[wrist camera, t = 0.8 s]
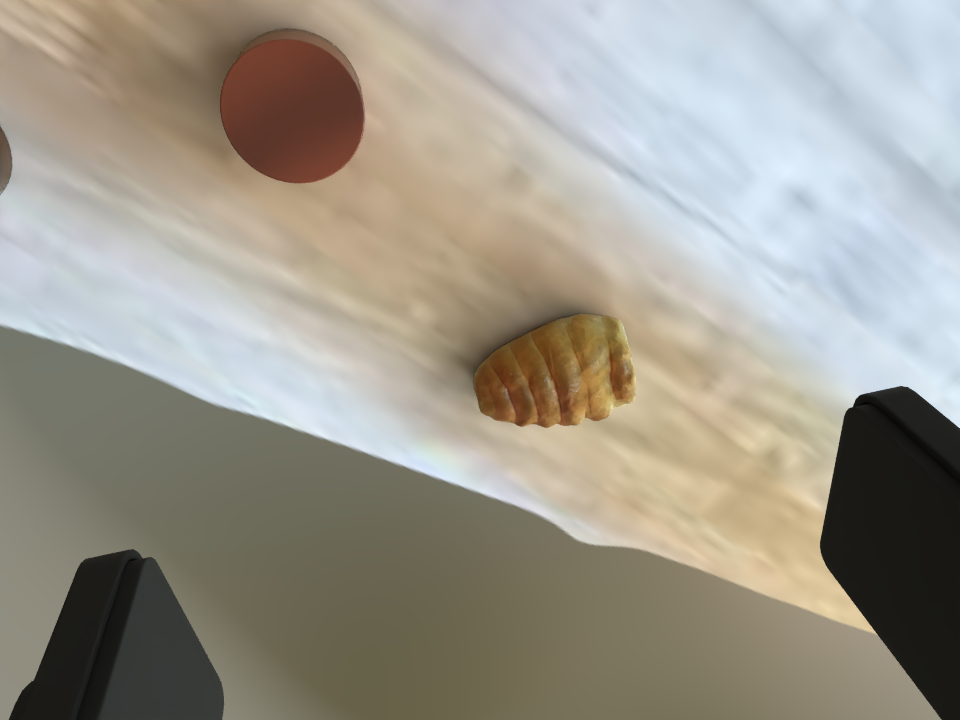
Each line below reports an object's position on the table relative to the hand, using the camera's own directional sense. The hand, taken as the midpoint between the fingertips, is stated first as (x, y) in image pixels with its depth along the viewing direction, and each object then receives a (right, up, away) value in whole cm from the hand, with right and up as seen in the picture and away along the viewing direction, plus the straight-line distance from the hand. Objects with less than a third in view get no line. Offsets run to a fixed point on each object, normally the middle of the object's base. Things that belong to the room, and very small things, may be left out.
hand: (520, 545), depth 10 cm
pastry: (+4, +2, +34) cm, 34 cm away
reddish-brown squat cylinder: (-9, +15, +23) cm, 29 cm away
